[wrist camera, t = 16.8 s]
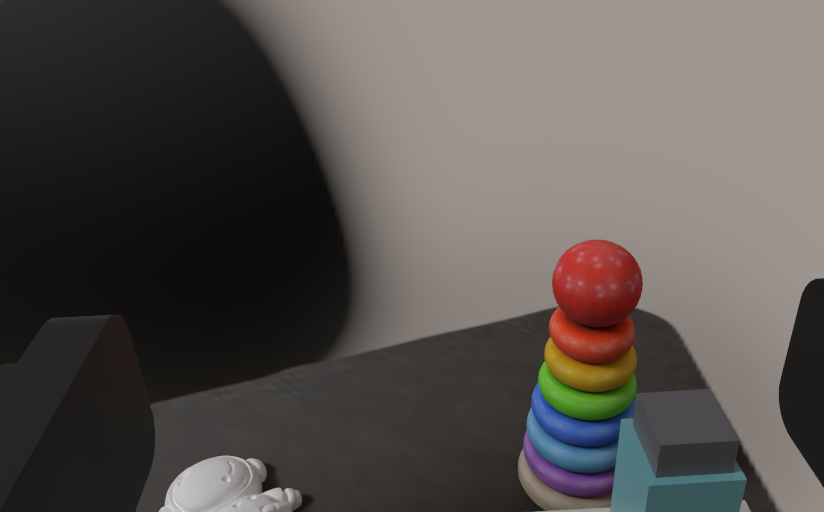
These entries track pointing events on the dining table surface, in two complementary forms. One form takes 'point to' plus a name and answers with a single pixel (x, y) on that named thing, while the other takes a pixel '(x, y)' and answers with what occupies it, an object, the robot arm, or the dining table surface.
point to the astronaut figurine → (227, 488)
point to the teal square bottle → (677, 456)
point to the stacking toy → (583, 380)
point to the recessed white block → (744, 508)
